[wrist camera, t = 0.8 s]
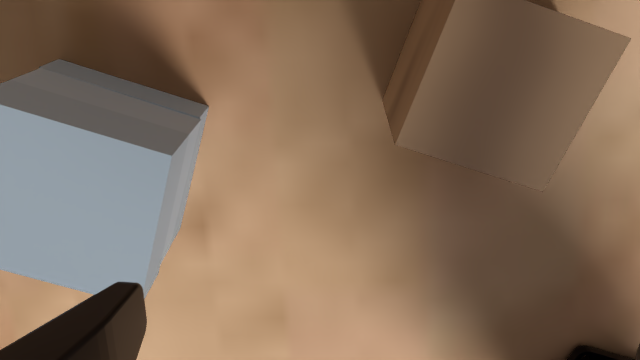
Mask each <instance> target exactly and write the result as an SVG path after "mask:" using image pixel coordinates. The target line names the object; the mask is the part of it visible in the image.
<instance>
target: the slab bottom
mask: <svg viewBox="0 0 640 360" xmlns="http://www.w3.org/2000/svg"><path fill="white" fill-rule="evenodd" d="M39 68H43V69H46V70H49V71H52V72H56V73H59V74H62V75H65V76H68V77H71V78H74V79H77V80H80V81H83V82H87V83H90V84H93V85H96V86H99V87H102V88H105V89H108V90H111V91H114V92H117V93H121V94H124V95H127V96H130V97H133V98H136V99H139V100H142V101H145V102H148V103H152V104H155V105H158V106H161V107H164V108H167V109H170V110H173V111H176V112H179V113H183V114H186V115H189V116H192V117H195V118H198V119H201V123H200V127H199V131H198V135H197V139H196V143H195V147H194V151H193V155H192V159H191V163H190V167H189V171H188V176H187V180H186V184H185V188H184V192H183V196H182V200H181V204H180V208H179V212H178V216H177V220H176V224H175V228H174V232H173V237H172V241H171V244H172V242H173V240H174V238H175V237H176V235H177V233H178V231H179V230H180V227H181V223H182V218H183V214H184V210H185V206H186V201H187V197H188V193H189V189H190V184H191V180H192V176H193V172H194V167H195V163H196V159H197V155H198V150H199V146H200V142H201V138H202V133H203V129H204V125H205V121H206V117H207V112H208V108H209V106H207V105H204V104H201V103H197V102H194V101H191V100H188V99H185V98H182V97H178V96H175V95H172V94H169V93H166V92H162V91H159V90H156V89H153V88H150V87H147V86H143V85H140V84H137V83H134V82H131V81H128V80H124V79H121V78H118V77H115V76H112V75H108V74H105V73H102V72H99V71H96V70H93V69H89V68H86V67H83V66H80V65H77V64H74V63H70V62H67V61H64V60H61V59H58V60H55V61H53V62H50V63H48V64H45V65H43V66H40V67H39ZM170 246H171V245H170Z"/></svg>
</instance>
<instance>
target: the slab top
mask: <svg viewBox="0 0 640 360" xmlns="http://www.w3.org/2000/svg"><path fill="white" fill-rule="evenodd" d="M188 138H189V134H187V133H184V132H180V131H177V130H174V129H171V128H167V127H164V126H161V125H157V124H154V123H151V122H148V121H144V120H141V119H138V118H134V117H131V116H128V115H125V114H121V113H118V112H115V111H111V110H108V109H105V108H102V107H98V106H95V105H92V104H89V103H85V102H82V101H79V100H75V99H72V98H69V97H66V96H62V95H59V94H56V93H52V92H49V91H46V90H43V89H39V88H36V87H33V86H29V85H26V84H23V83H20V82H16V81H13V80H8V81H6V82H3V83H1V84H0V270H4V271H8V272H11V273H15V274H19V275H23V276H26V277H30V278H34V279H38V280H41V281H45V282H49V283H53V284H56V285H60V286H64V287H68V288H71V289H75V290H79V291H83V292H86V293H90V294H94V295H95V294H97V293H99V292H100V291H102V290H104V289H105V288H107V287H109V286H110V285H112V284H114V283H116V282H136V283H139V284H140V285H141V286H142V288H143V293H144V299H145V297H146V295H147V293H148V291H149V290H150V288H151V286H152V284H153V282H154V280H155V279H156V277H157V275H158V273H159V268H160V264H161V259H162V255H163V250H164V246H165V241H166V237H167V232H168V228H169V223H170V219H171V214H172V210H173V205H174V201H175V196H176V192H177V188H178V183H179V179H180V174H181V170H182V165H183V161H184V156H185V152H186V147H187V143H188Z"/></svg>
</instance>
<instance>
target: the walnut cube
mask: <svg viewBox="0 0 640 360" xmlns="http://www.w3.org/2000/svg"><path fill="white" fill-rule="evenodd" d="M630 40H631V38H629V37H626V36H623V35H620V34H618V33H615V32H612V31H609V30H607V29H604V28H601V27H598V26H595V25H593V24H590V23H587V22H584V21H582V20H579V19H576V18H573V17H570V16H568V15H565V14H562V13H559V12H557V11H554V10H551V9H548V8H546V7H543V6H540V5H537V4H534V3H532V2H529V1H526V0H421V2H420V4H419V7H418V9H417V12H416V15H415V17H414V20H413V22H412V25H411V27H410V30H409V33H408V35H407V38H406V40H405V43H404V46H403V48H402V51H401V53H400V56H399V58H398V61H397V64H396V66H395V69H394V71H393V74H392V77H391V79H390V82H389V84H388V87H387V89H386V92H385V95H384V97H383V100H382V101H383V104H384V108H385V111H386V115H387V118H388V122H389V125H390V129H391V132H392V136H393V139H394V143H395V145H397V146H400V147H403V148H406V149H409V150H413V151H416V152H419V153H422V154H425V155H428V156H431V157H435V158H438V159H441V160H444V161H447V162H450V163H453V164H457V165H460V166H463V167H466V168H469V169H472V170H475V171H478V172H482V173H485V174H488V175H491V176H494V177H497V178H500V179H504V180H507V181H510V182H513V183H516V184H519V185H522V186H525V187H529V188H532V189H535V190H538V191H541V192H543V191H544V189H545V187H546V186H547V184H548V182H549V180H550V179H551V177H552V175H553V173H554V172H555V170H556V168H557V166H558V165H559V163H560V161H561V160H562V158H563V156H564V154H565V153H566V151H567V149H568V147H569V146H570V144H571V142H572V140H573V139H574V137H575V135H576V134H577V132H578V130H579V128H580V127H581V125H582V123H583V121H584V120H585V118H586V116H587V114H588V113H589V111H590V109H591V107H592V106H593V104H594V102H595V101H596V99H597V97H598V95H599V94H600V92H601V90H602V88H603V87H604V85H605V83H606V81H607V80H608V78H609V76H610V74H611V73H612V71H613V69H614V68H615V66H616V64H617V62H618V61H619V59H620V57H621V55H622V54H623V52H624V50H625V48H626V47H627V45H628V43H629V42H630Z"/></svg>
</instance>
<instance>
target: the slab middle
mask: <svg viewBox="0 0 640 360" xmlns="http://www.w3.org/2000/svg"><path fill="white" fill-rule="evenodd" d="M11 80H13V81H16V82H20V83H23V84H26V85H29V86H33V87H36V88H39V89H43V90H46V91H49V92H52V93H56V94H59V95H62V96H66V97H69V98H72V99H75V100H79V101H82V102H85V103H89V104H92V105H95V106H98V107H102V108H105V109H108V110H111V111H115V112H118V113H121V114H125V115H128V116H131V117H134V118H138V119H141V120H144V121H148V122H151V123H154V124H157V125H161V126H164V127H167V128H171V129H174V130H177V131H180V132H184V133H187V134H189V138H188V143H187V147H186V152H185V156H184V161H183V165H182V170H181V174H180V179H179V183H178V188H177V192H176V196H175V201H174V205H173V210H172V214H171V219H170V223H169V228H168V232H167V237H166V241H165V246H164V250H163V255H162V259H161V262H162V260H163V259H164V257H165V255H166V253H167V252H168V250H169V248H170V245H171V241H172V237H173V232H174V228H175V224H176V220H177V216H178V212H179V208H180V204H181V200H182V196H183V192H184V188H185V184H186V180H187V176H188V171H189V167H190V163H191V159H192V155H193V151H194V147H195V143H196V139H197V135H198V131H199V127H200V123H201V119H198V118H195V117H192V116H189V115H186V114H183V113H179V112H176V111H173V110H170V109H167V108H164V107H161V106H158V105H155V104H152V103H148V102H145V101H142V100H139V99H136V98H133V97H130V96H127V95H124V94H121V93H117V92H114V91H111V90H108V89H105V88H102V87H99V86H96V85H93V84H90V83H87V82H83V81H80V80H77V79H74V78H71V77H68V76H65V75H62V74H59V73H56V72H52V71H49V70H46V69H43V68H39V69H36V70H34V71H31V72H29V73H26V74H24V75H21V76H19V77H16V78H14V79H11Z"/></svg>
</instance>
